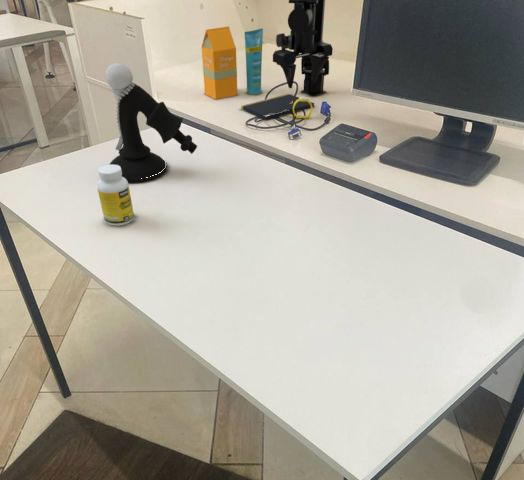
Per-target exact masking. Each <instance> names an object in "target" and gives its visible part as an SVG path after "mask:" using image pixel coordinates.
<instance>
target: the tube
mask: <svg viewBox="0 0 524 480" xmlns="http://www.w3.org/2000/svg"><path fill="white" fill-rule="evenodd" d="M263 37H264V28H263V27H262V28H257V29H253V30H246V31H244V47H245V48H244V49H245V71H246V73H245V74H246V75H245V76H246V93H247V94H248V95H252V96H254V95H260V94H261V93H262V64H263V63H262V61H263Z"/></svg>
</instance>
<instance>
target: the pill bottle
mask: <svg viewBox="0 0 524 480" xmlns="http://www.w3.org/2000/svg"><path fill="white" fill-rule="evenodd" d="M109 164H110V163H109ZM109 164H104V165H102V166H100V167H99V168H98V169H97V171H98V177H99V178H100V179H99V180H98V182H97V183H96V188H97V193H98V197H99V201H100V207H101V211H102V215H103V219H104V222H105V223H106V224H108V225H110V226H124V225H127V224H130V223H131V222H132V221H133V220H134V218H135V213H134V207H133V201H132V196H131V192H130V191H131V190H130V185H129V183H128V181H127V180H126V179H125V178H124V177H122V176H121V175H122V170H121V167H120V166H118V165H113V164H110V165H109Z"/></svg>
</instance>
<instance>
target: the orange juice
mask: <svg viewBox="0 0 524 480" xmlns="http://www.w3.org/2000/svg"><path fill="white" fill-rule="evenodd" d="M201 58H202V73H203V74H202V75H203V84H204V94H205V95H206V96H208V97H210V98H212V99H214V100H220V99H224V98H230V97H234V96H238V94H239V93H238V65H237V47H236V44H235V42H234V38H233V35H232V32H231V29H230V26H224V27H216V28H208V29H206V30H205V33H204V36H203V40H202V44H201Z"/></svg>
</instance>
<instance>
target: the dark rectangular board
mask: <svg viewBox="0 0 524 480" xmlns="http://www.w3.org/2000/svg"><path fill="white" fill-rule="evenodd" d="M299 97H300V96H296V95H293V94H291V93H284V94H280V95H277V96H273V97H269V98H266V99H262V100H258V101H257V100H256V101H254V102H249V103H246V104H242V105H241V106H240V110H242V111H244V112H247V113H249V114H251V115H253V116H256V117H258V118H260V119H262V120H264V121H268V120H272V119H275V118H280V117H283V116H285V115H289V114H294V113H293V105H294V103H295V101H296V100H298V99H299ZM292 100H293V104H289V103H290V102H291V101H292ZM310 102H311V104H312V108H314V106H315V103H314V102H312V101H310ZM285 109H287V110H289V111H286V112H282V113H279V114H275V115H271V116H268V117H265V116H263V115H267V114H269V113H278V112H281V111H283V110H285ZM307 109H311V105H310V103H308V102H307V101H306V102H302V101H299V102H297V104H296V105H295V108H294V111H295V113H297V112H300V111H303V110H307Z"/></svg>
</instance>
